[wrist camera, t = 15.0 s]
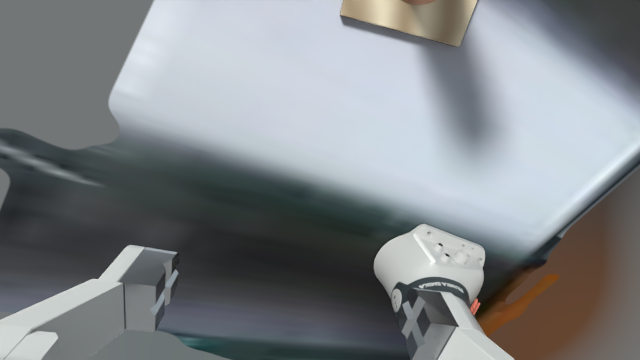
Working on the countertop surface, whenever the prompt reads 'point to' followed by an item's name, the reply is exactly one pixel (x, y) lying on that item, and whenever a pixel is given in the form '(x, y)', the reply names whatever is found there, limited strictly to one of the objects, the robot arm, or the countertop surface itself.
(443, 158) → the countertop surface
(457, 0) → the seat board
